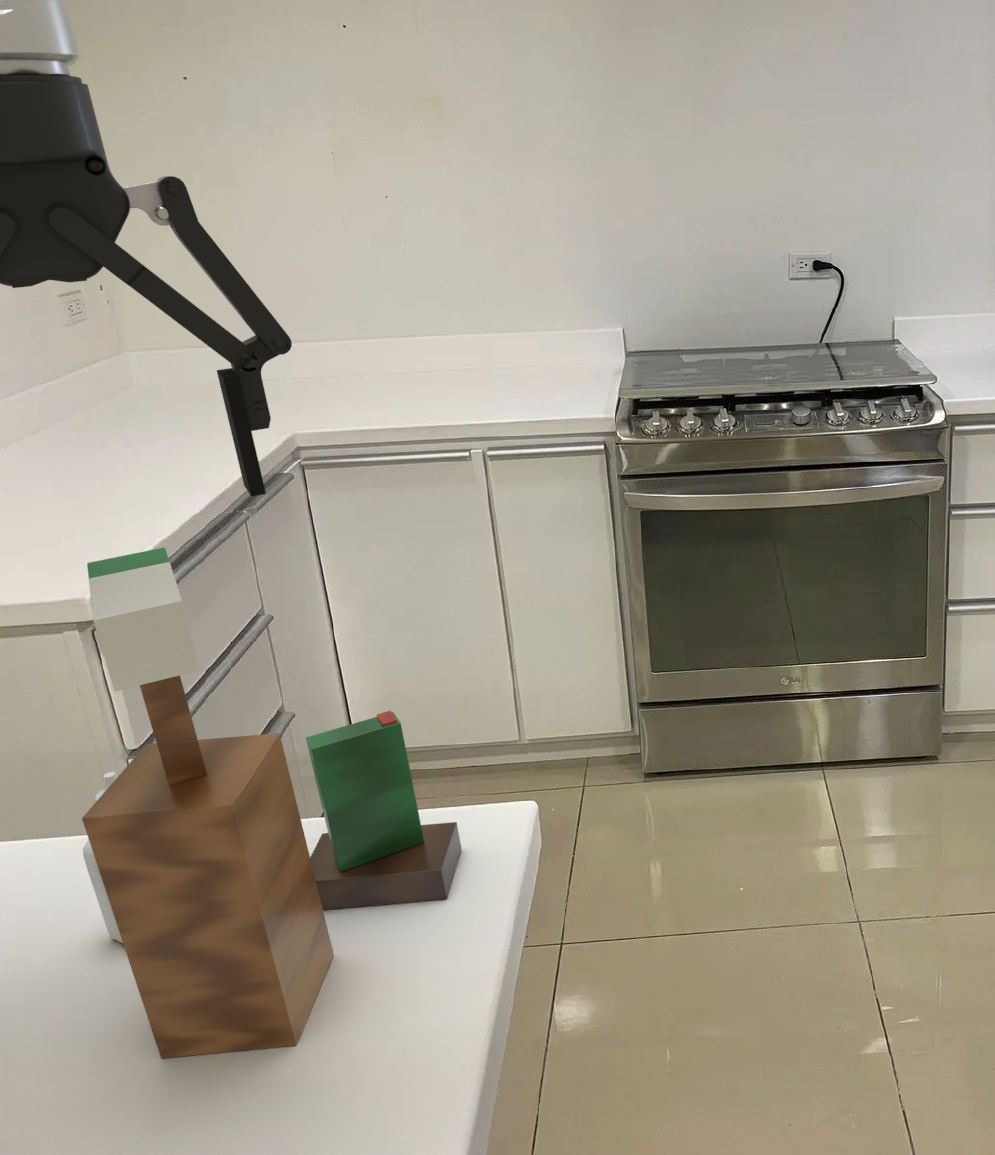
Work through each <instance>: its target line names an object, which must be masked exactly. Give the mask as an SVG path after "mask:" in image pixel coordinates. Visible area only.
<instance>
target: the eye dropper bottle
mask: <svg viewBox="0 0 995 1155" xmlns="http://www.w3.org/2000/svg"><path fill="white" fill-rule="evenodd" d="M117 777H118V775H117V773H116V772H115V771H110V772H106V773H105V774H103V776H102V778H103V789H101V790H100V791H99V792H98V793H97V794H96V795H95V796H94V801H95V802H96V801H97V800H98V799H99V798H100V797H101V796H102V794H103V793H104V792H105V791H106V790H107V789H108V788H109V786H110V785H111V784H112V783H113V782H114V781H115V779H116V778H117ZM95 802H94V803H95ZM82 856H83V860H84V863H85V866H86V869H87V873H88V876H89V879H90V882H91V885H92V888H93V891H94V894H95V896H96V900H97V903H98V906H99V909H100V912H101V914H102V918H103V920H104V921H103V922H104V923H105V924H104V925H105V927H106V930H107V932H108V934H109V937H111V939H114V940H115V941H117V942H119V943H121V944H123V941H122V938H121V935H120V932H119V929H118V926H117V923H116V920H115V917H114V914H113V911H112V908H111V905H110V902H109V899H108V896H107V893H106V890H105V887H104V884H103V881H102V878H101V875H100V872H99V869H98V866H97V863H96V860H95V857H94V854H93V851H92V848H91V844H90V841H89V839H87V841H86V842H85V844H84V846H83V848H82Z"/></svg>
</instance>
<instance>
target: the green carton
mask: <svg viewBox="0 0 995 1155" xmlns="http://www.w3.org/2000/svg"><path fill="white" fill-rule="evenodd" d="M305 740H306V746H307V750H308V753H309V757H310V762H311V766H312V770H313V773H314V779H315V784H316V787H317V792H318V795H319V801H320V804H321V808H322V812H323V817H324V822H325V825H326V826H325V827H326V830H327V833H328V834H329V839H330V843H331V847H332V851H333V856H334V859H335V861H336V864H337V866H338V868H339V870H340V872H341V871H344V870H347V869H350V868H353V867H356V866H358V865H361V864H364V863H367V862H370V861H373V860H376V859H378V858H381V857H384V856H387V855H390V854H393V853H396V852H398V851H401V850H404V849H407V848H410V847H413V846H416V845H418V844H421V843H424V838H423V833H422V828H421V825H422V823H421V819H420V814H419V808H418V803H417V797H416V793H415V788H414V783H413V778H412V773H411V767H410V762H409V757H408V752H407V747H406V743H405V738H404V733H403V727H402V723H401V721H400V719H399V718H398V716H397V715H396V714H395V712H392V711H391V710H387V711H384V712H380V713H377V714H376V716H374V717H371V718H368V719H365V720H361V721H357V722H353V723H351V724H347V725H343V726H340V727H337V728H333V729H331V730H327V731H323V732H319V733H316V734H313V735H310V736H306V737H305Z"/></svg>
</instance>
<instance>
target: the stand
mask: <svg viewBox="0 0 995 1155" xmlns="http://www.w3.org/2000/svg"><path fill="white" fill-rule="evenodd" d="M139 688H140V692H141V695H142V699H143V703H144V705H145V708H146V712H147V715H148V720H149V723H150V726H151V729H152V732H153V737H154V739H155V742H154V743H146V744H145V745H144V746H143V747H142V748H141V749H140V750H139V752H138V753H136V755H135V756H134V757H133V759H132V760H131V761H130V762H129V763H128V765H127V766H126V767H125V768H123V770H122V771H121V773H120V774H119V775H117V778H116V779H115V781H114V782H113V783H112V784H111V785H110V786H109V788H108V789H107V790H106V791H105V792H104V793H103V794H102V796H101V797H100V798H99V799H98V800H97V801H96V802H94V804H93V805H92V806H91V807H90V808H89V809H88V810H87V812H86V813H85V814H84V815H83V816H82V817H81V821H82V823H83V827H84V829H85V832H86V835H87V838H88V840H89V841H90V844H91V848H92V851H93V854H94V857H95V860H96V863H97V866H98V869H99V872H100V875H101V878H102V881H103V884H104V887H105V890H106V893H107V896H108V899H109V902H110V905H111V908H112V911H113V914H114V917H115V920H116V923H117V926H118V929H119V932H120V935H121V938H122V941H123V943H122V944H123V947H124V950H125V953H126V957H127V959H128V962H129V966H130V969H131V972H132V975H133V977H134V981H135V984H136V987H137V990H138V993H139V996H140V999H141V1002H142V1005H143V1008H144V1011H145V1014H146V1017H147V1020H148V1023H149V1026H150V1029H151V1032H152V1035H153V1038H154V1041H155V1044H156V1047H157V1050H158V1053H159V1056H160V1058H161V1059H166V1058H167V1059H168V1058H177V1057H188V1056H198V1055H208V1054H218V1053H227V1052H228V1053H230V1052H239V1051H251V1050H261V1049H271V1048H281V1047H293V1046H294V1047H295V1046H297V1045H298V1043H299V1040H300V1038H301V1035H302V1032H303V1030H304V1028H305V1026H306V1024H307V1021H308V1018H309V1016H310V1014H311V1011H312V1009H313V1006H314V1005H315V1002H316V999H317V997H318V994H319V993H320V990H321V987H322V985H323V983H324V980H325V978H326V976H327V973H328V970H329V969H330V967H331V966H330V965H331V963H332V962H333V959H334V956H335V954H334V949H333V946H332V942H331V937H330V934H329V930H328V926H327V920H326V917H325V913H324V910H323V909H322V905H321V900H320V896H319V892H318V888H317V884H316V880H315V876H314V872H313V868H312V864H311V860H310V857H311V855H310V852H309V848H308V843H307V839H306V835H305V831H304V827H303V823H302V819H301V815H300V810H299V807H298V802H297V798H296V796H295V795H296V794H295V790H294V786H293V783H292V777H291V774H290V770H289V766H288V762H287V758H286V753H285V749H284V746H283V741H282V737H281V734H280V733H277V732H275V733H265V734H253V735H252V734H251V735H242V736H241V735H240V736H239V735H238V736H229V737H226V736H225V737H216V738H202V739H198V736H197V732H196V728H195V725H194V720H193V717H192V713H191V711H190V706H189V702H188V699H187V696H186V692H185V688H184V685H183V681H182V678H181V675H179V676H175V677H171V678H167V679H163V680H159V681H155V682H151V683H147V684H143V685H139Z"/></svg>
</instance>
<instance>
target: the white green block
mask: <svg viewBox="0 0 995 1155" xmlns="http://www.w3.org/2000/svg"><path fill="white" fill-rule="evenodd" d="M86 568H87V574H88V576H87V577H88V584H89V594H90V602H91V611H92V612H91V614H92V620H93V624H94V628H95V631H96V634H97V638H98V641H99V644H100V647H101V651H102V654H103V657H104V661H105V664H106V668H107V670H108V674H109V677H110V680H111V684H112V687H113V690H114V692H119V691H123V690H127V689H131V688H134V687H135V688H136V687H140V685H143V684H147V683H151V682H155V681H159V680H163V679H167V678H171V677H175V676H179V675H180V676H183V675H187V674H191V673H195V672H200V671H201V667H200V663H199V658H198V655H197V652H196V647H195V644H194V640H193V636H192V633H191V628H190V625H189V621H188V618H187V613H186V610H185V606H184V603H183V599H182V596H181V593H180V590H179V587H178V583H177V581H176V577H175V574H174V571H173V568H172V565H171V562H170V559H169V556H168V552H167V549H166V547H159V548H154V549H149V550H145V551H140V552H135V553H130V554H129V553H128V554H124V555H120V556H114V557H110V558H105V559H101V560H96V561H90V562H87V564H86Z"/></svg>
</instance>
